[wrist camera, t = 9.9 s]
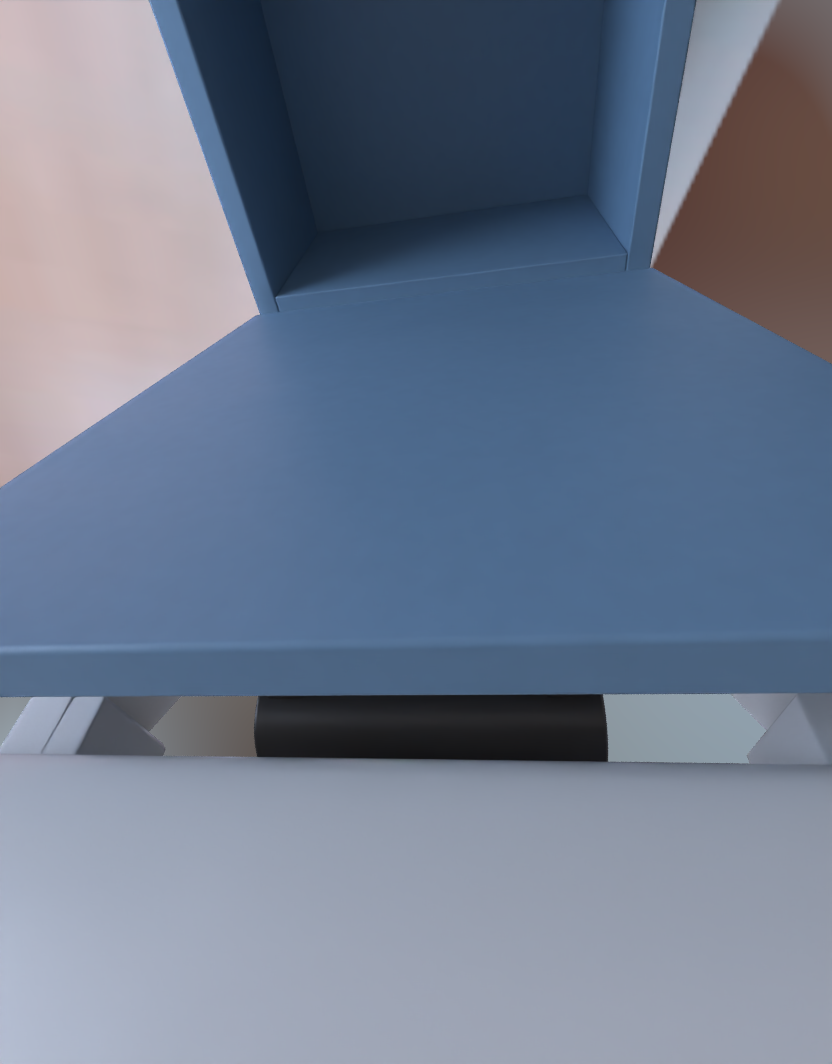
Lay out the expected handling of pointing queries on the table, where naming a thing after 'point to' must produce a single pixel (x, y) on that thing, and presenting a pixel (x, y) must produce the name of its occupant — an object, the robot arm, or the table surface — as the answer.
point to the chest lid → (441, 523)
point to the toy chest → (430, 138)
